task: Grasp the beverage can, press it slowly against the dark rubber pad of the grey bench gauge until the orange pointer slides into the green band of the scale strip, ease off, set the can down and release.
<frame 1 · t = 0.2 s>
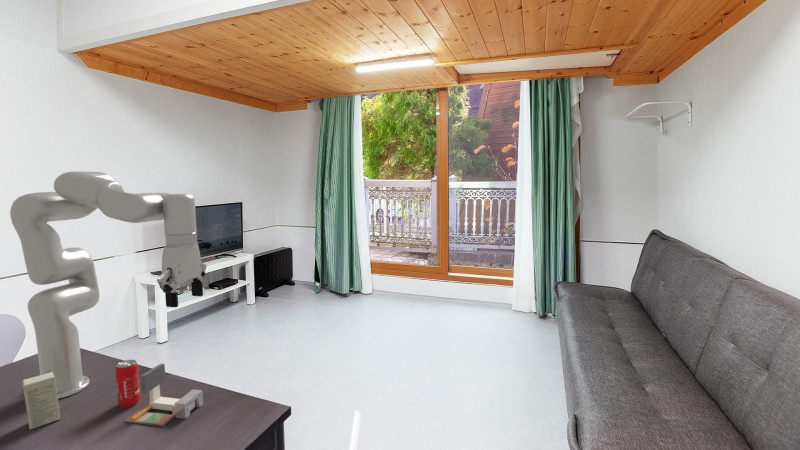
hand: (185, 301, 108), 31 cm above the table, fingers open, 9 cm apart
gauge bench: (185, 410, 110), on the table
skincare box: (44, 422, 104), on the table
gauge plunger: (165, 393, 108), point 6 cm above the table, slide at 0.0 cm
beverage can: (129, 403, 113), on the table
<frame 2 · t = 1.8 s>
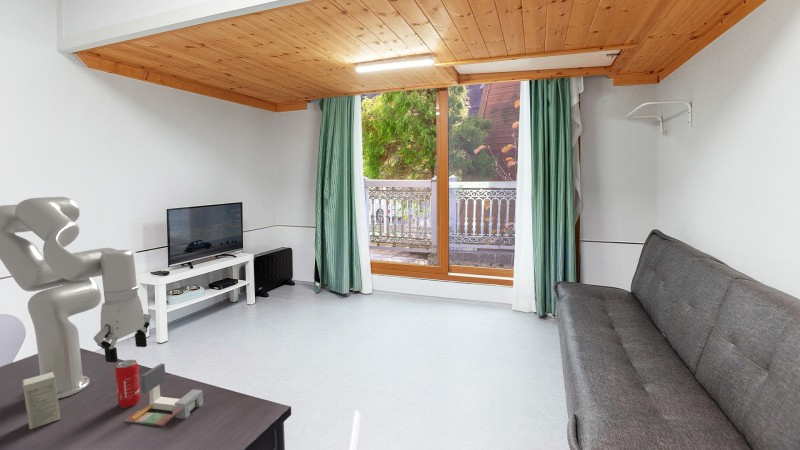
hand: (127, 353, 111), 15 cm above the table, fingers open, 9 cm apart
nothing on the table moved.
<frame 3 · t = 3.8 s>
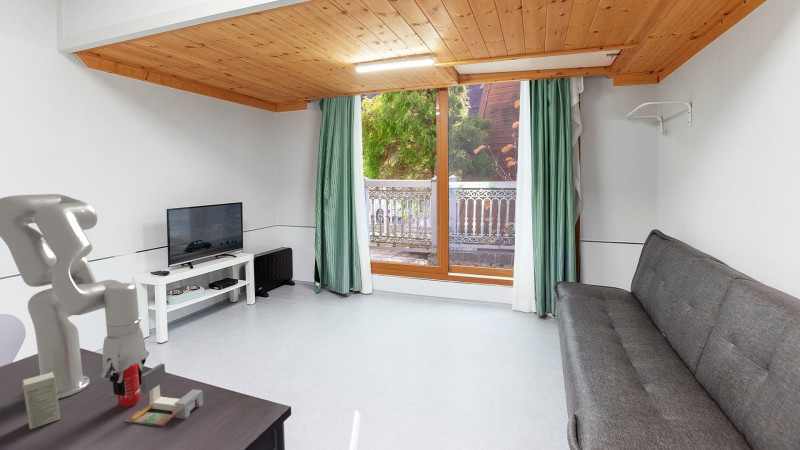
hand: (128, 388, 112), 4 cm above the table, fingers closed on beverage can, 5 cm apart
beverage can: (129, 403, 113), on the table, touching gripper
everything else where it was.
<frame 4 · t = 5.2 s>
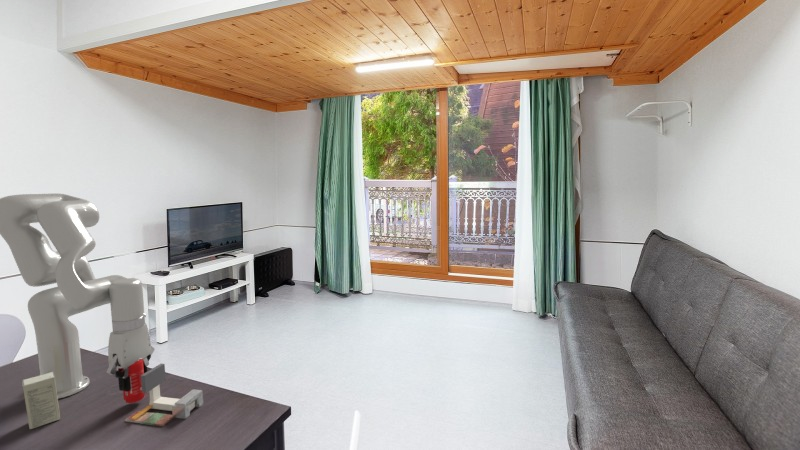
hand: (134, 384, 112), 6 cm above the table, fingers closed on beverage can, 5 cm apart
beverage can: (135, 399, 112), point 1 cm above the table, touching gripper
everything else where it was.
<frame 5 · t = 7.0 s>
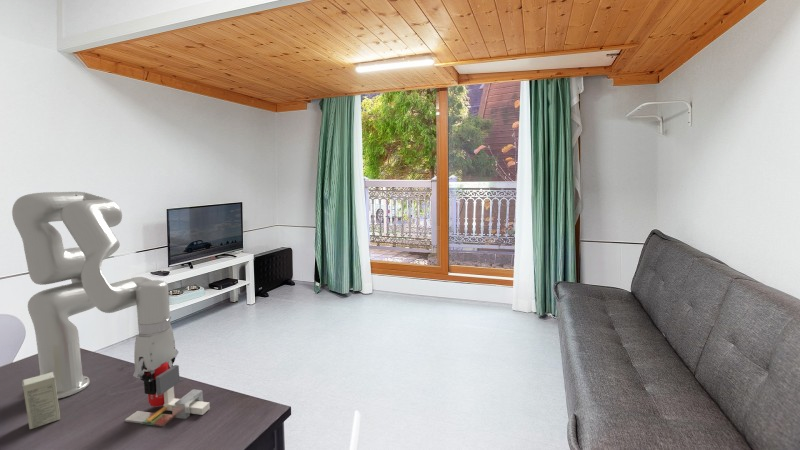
hand: (158, 387, 110), 6 cm above the table, fingers closed on beverage can, 5 cm apart
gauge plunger: (180, 395, 107), point 6 cm above the table, slide at 4.6 cm, touching beverage can
beverage can: (159, 403, 111), point 1 cm above the table, touching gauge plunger, gripper
everything else where it was.
when the fingers open (4 cm above the table, at t = 8.7 s): beverage can stays where it is, on the table.
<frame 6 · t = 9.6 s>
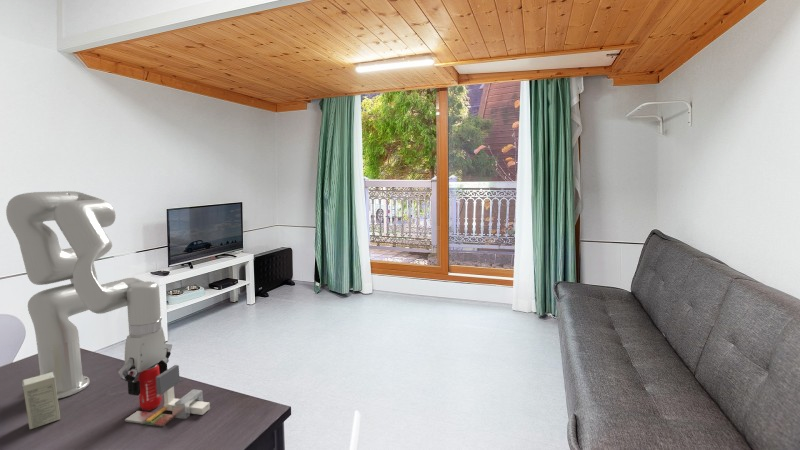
hand: (148, 385, 111), 6 cm above the table, fingers open, 9 cm apart
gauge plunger: (180, 395, 107), point 6 cm above the table, slide at 4.6 cm
beverage can: (151, 406, 112), on the table
everything else where it was.
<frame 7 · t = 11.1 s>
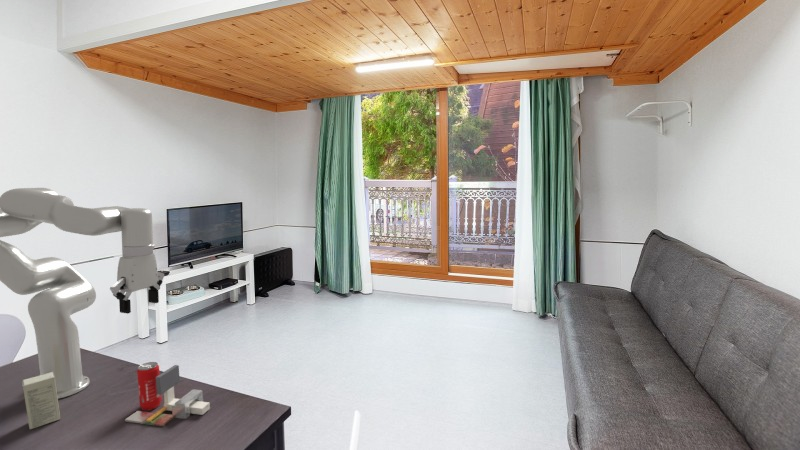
hand: (140, 307, 117), 26 cm above the table, fingers open, 9 cm apart
nothing on the table moved.
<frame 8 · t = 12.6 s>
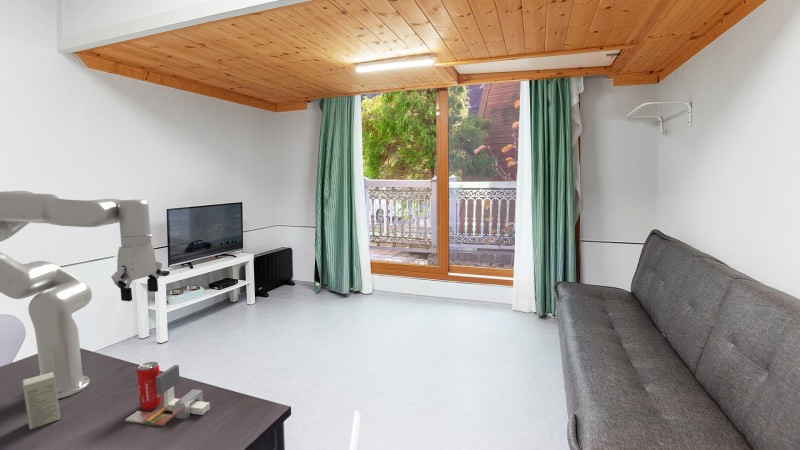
hand: (140, 295, 120), 28 cm above the table, fingers open, 9 cm apart
nothing on the table moved.
at the end: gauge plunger slide at 4.6 cm; beverage can tilted 0°; the gripper is holding nothing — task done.
